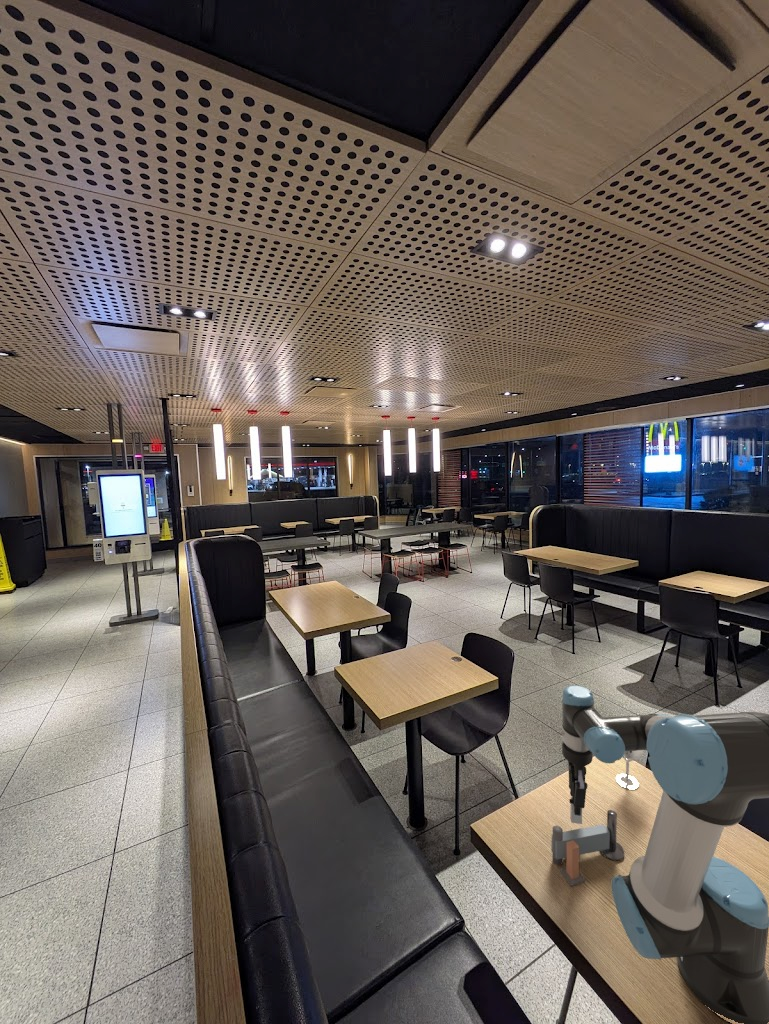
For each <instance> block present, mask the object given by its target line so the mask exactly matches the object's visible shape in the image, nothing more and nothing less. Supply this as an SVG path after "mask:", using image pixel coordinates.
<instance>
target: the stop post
mask: <svg viewBox="0 0 769 1024" xmlns="http://www.w3.org/2000/svg"><path fill="white" fill-rule="evenodd" d="M565 864H566V866H565V867H563V868H561V869H560V870H559V871H560V873H561V874H562V876H563V878H564V879H565V880H566V881H567V883H568V884H569V886H570V887H575V886H577V885H580V884H582V883H585V882H586V878H585V877H584V876H583V875H582V873H581V872H580V869H579V868H580V855H579V846H578V845H577V844H576V843H575V842H574V840H572V841H570V842H567V860H566V863H565Z"/></svg>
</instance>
